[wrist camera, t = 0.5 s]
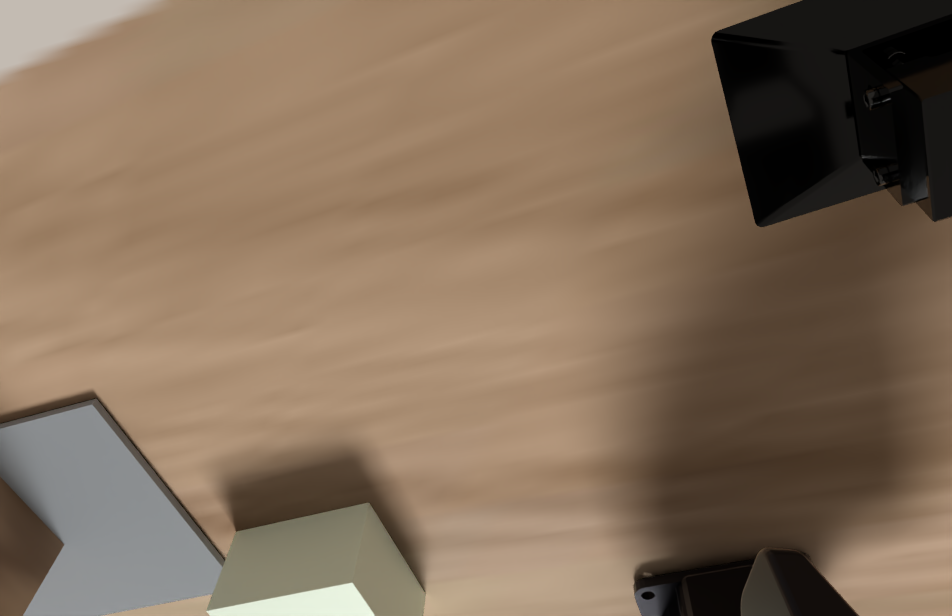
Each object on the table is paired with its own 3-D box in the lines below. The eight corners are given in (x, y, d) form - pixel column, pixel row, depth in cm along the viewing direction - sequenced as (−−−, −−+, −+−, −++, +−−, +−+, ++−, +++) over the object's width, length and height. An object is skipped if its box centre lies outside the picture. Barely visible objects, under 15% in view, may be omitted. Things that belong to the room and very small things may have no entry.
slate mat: (242, 582, 31) (239, 588, 31) (-4, 630, 34) (-7, 636, 34) (96, 398, 26) (92, 404, 26) (-180, 471, 29) (-186, 477, 29)
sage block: (426, 590, 31) (416, 675, 28) (303, 613, 33) (281, 696, 30) (369, 498, 29) (352, 582, 26) (237, 527, 30) (206, 611, 27)
